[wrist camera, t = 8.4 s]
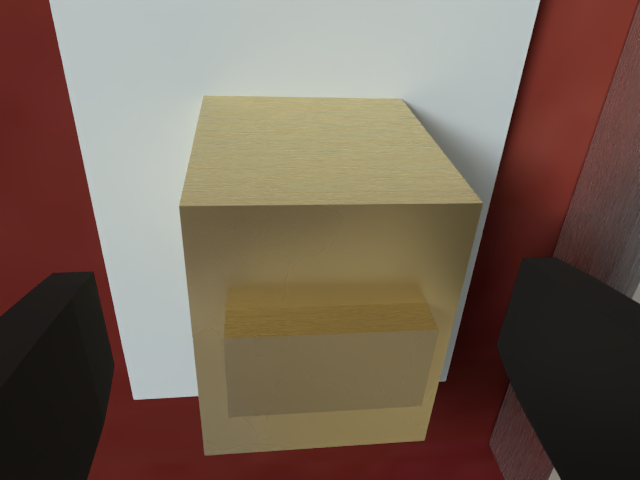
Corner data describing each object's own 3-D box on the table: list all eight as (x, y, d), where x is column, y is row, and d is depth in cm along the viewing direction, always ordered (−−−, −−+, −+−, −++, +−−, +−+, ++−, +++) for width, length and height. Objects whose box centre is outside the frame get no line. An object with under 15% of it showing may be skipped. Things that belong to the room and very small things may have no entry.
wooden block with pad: (374, 290, 14) (434, 469, 9) (216, 295, 13) (202, 486, 9) (401, 98, 11) (501, 226, 7) (203, 95, 10) (173, 231, 6)
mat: (439, 366, 16) (445, 381, 16) (137, 383, 15) (133, 399, 15) (547, -95, 10) (563, -94, 9) (35, -124, 9) (22, -125, 8)
